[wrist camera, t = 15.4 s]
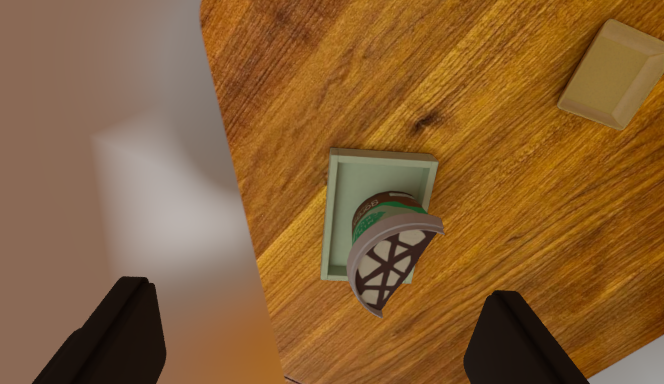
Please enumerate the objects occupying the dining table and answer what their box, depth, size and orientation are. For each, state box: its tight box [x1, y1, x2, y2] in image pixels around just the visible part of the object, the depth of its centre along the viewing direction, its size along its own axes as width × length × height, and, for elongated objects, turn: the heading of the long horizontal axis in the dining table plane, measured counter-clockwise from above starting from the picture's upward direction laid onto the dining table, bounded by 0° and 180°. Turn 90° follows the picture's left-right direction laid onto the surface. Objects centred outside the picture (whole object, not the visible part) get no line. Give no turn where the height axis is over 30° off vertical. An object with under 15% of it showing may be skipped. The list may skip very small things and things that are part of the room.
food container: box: [346, 191, 444, 318], centre depth 36 cm, size 12×6×10 cm, turn 154°
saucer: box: [557, 19, 664, 130], centre depth 34 cm, size 9×9×2 cm
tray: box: [321, 148, 439, 284], centre depth 40 cm, size 12×17×3 cm
